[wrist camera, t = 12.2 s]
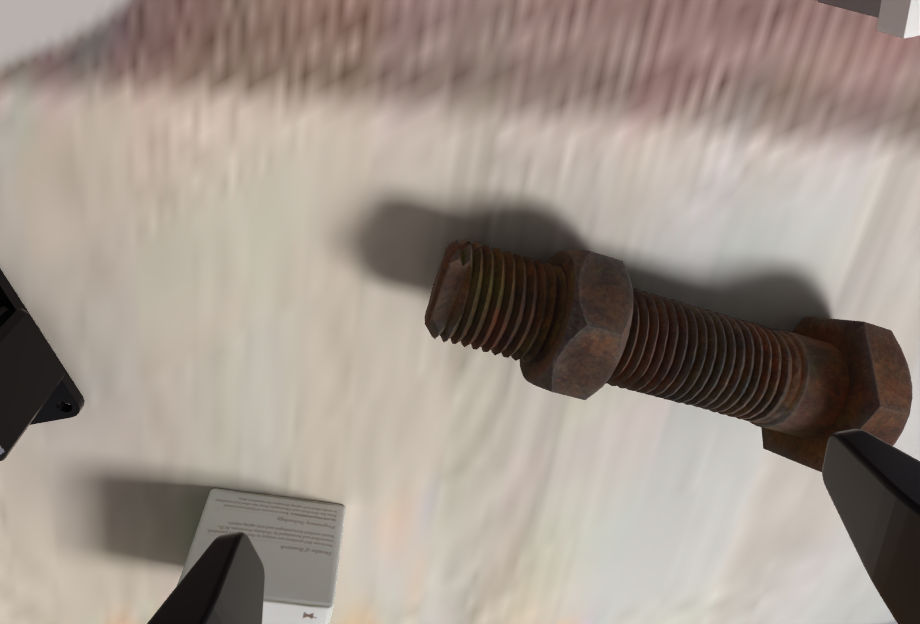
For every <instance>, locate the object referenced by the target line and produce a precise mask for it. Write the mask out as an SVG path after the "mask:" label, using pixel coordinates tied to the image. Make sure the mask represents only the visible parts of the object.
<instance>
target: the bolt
mask: <svg viewBox="0 0 920 624" xmlns="http://www.w3.org/2000/svg"><path fill="white" fill-rule="evenodd" d="M425 325H426V327H427V328H428V330H429V332H430V334H431V335H432V337H433V338H434V339H435V338H436V337H438V336H439V335H440V336H441V338H442V340H443V342H445V341H447V340H448V339H450V338H451V341H452V344H456V343H458V342H459V341H461V343H462V345H463V346H464V347H465V346H467V345H469V344H471V345H472V348H473V349H478V348H479V347H482V350H483V352H488V351H489V350H491V351H492V353H493V354H494V355H497V354H499V353H502V355H503V357H509V356H511V357H512V358H513V359H514V360H515V361H516V360H518V359H520V367H521V371H522V374H523V376H524V378H525V379H526V380H527V381H528V382H530V383H532V384H534V385H536V386H538V387H541V388H543V389H546V390H549V391H551V392H555V393H559V394H563V395H567V396H571V397H575V398H579V399H583V400H586V399H587V398H588V397H590V396H591V395H593V394H594V393H595V392H597V391H598V390H599V389H600V388H602V387H603V386H604V384H605V383H608V384H610V385H611V386H618V387H620V388H627V389H628V390H632V391H637V392H641V393H645V394H648V395H653V396H655V397H660V398H664V399H667V400H672V401H675V402H677V403H685V404H687V405H693V406H696V407H701V408H703V409H709V410H711V411H712V412H718V413H720V414H722V415H724V414H726V415H728V416H731V417H736V418H738V419H743V420H746V421H750V422H751V423H752V424H754V425H756V426H759V427H761V428H762V438H763V448H764V449H766V450H769V451H771V452H773V453H776V454H778V455H781V456H783V457H786V458H788V459H790V460H793V461H795V462H798V463H800V464H803V465H805V466H808V467H810V468H813V469H815V470H817V471H820V472H822V468H823V463H824V458H825V453H826V448H827V443H828V439H829V437H830V436H831V434H832V433H835V432H840V431H846V430H852V429H861V430H864V431H866V432H868V433H870V434H872V435H873V436H875V437H877V438H879V439H881V440H882V441H884V442H886V443H888V444H890V445H891V446H893V445H894V444H895V443H896V441H897V440H898V438H899V436H900V435H901V433H902V431H903V429H904V427H905V424H906V422H907V419H908V417H909V414H910V408H911V402H912V382H911V376H910V372H909V368H908V364H907V361H906V359H905V356H904V354H903V352H902V349H901V347H900V345H899V344H898V342H897V340H896V338H895V336H894V334H893V333H892V331H891V330H888V329H885V328H882V327H879V326H876V325H873V324H869V323H866V322H861V321H850V320H839V319H828V318H817V317H806V316H805V317H804V318H803V319H802V320H801V322H800V323H799V324H798V326H797V327H796V328H795V330H794V331H793V332H789V331H785V330H772V329H768V328H765V327H763V326H760V325H756V324H754V323H748V322H746V321H743V320H738V319H735V318H732V317H729V316H726V315H721V314H719V313H716V312H715V313H714V312H712V311H709V310H704V309H702V308H699V307H694V306H691V305H687V304H684V303H682V302H676V301H674V300H673V299H667V298H663V297H660V296H657V295H654V294H648V293H647V292H645V291H639V290H637V289H635V288H632V283H631V280H630V277H629V275H628V272H627V270H626V267H625V265H624V263H623V261H620V260H617V259H613V258H610V257H607V256H604V255H600V254H597V253H594V252H590V251H582V250H563V251H560V252H558V253H556V254H555V255H554V256H553V257H552V258H551V259H550V260H549V261H548V263H544V264H542V263H541V262H540V261H539V260H535V261H532V259H531V258H529V257H526V258H522V257H521V255H518V254H515V255H514V256H513V255H512V254H511V253H510V252H508V251H505V252H504V253H502V252H501V251H500V249H499V248H495V249H493V250H492V251H491V249H490V247H489V246H487V245H484V246H483V247H482V248H481V245H480V243H479V242H475V243H473V244H472V245H471V243H470V242H469V240H468V239H464V240H463V241H461V242H460V243H458V242H457V241H455V242H452V243H451V244H449V245H448V246H447V247H446V249H445V253H444V257H443V260H442V262H441V265H440V267H439V270H438V273H437V275H436V278H435V281H434V285H433V288H432V292H431V296H430V300H429V304H428V307H427V310H426V314H425Z"/></svg>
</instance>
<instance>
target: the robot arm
mask: <svg viewBox="0 0 920 624" xmlns="http://www.w3.org/2000/svg"><path fill="white" fill-rule="evenodd" d="M63 401H65V402H68V403H69V404H70V405H69V404H66V403H64V402H63ZM83 406H84V398H83V396H82V395H81V393H80V392H79V390H78V388H77V387H76V385H75V384H74V382H73V381H72V379H71V378H70V376H69V374H68V373H67V371H66V370H65V368H64V367H63V365H62V364H61V362H60V360H59V359H58V357H57V356H56V354H55V353H54V351H53V350H52V348H51V347H50V345H49V343H48V342H47V340H46V339H45V337H44V336H43V334H42V333H41V331H40V329H39V328H38V326H37V325H36V323H35V322H34V320H33V319H32V317H31V316H30V314H29V312H28V311H27V309H26V308H25V306H24V305H23V303H22V302H21V300H20V298H19V297H18V295H17V294H16V292H15V291H14V289H13V288H12V286H11V285H10V283H9V281H8V280H7V278H6V277H5V275H4V274H3V272H2V271H1V269H0V461H2V460H4V459H5V458H6V457H7V455H8V454H9V453H10V451H11V450H12V448H13V447H14V446H15V444H16V443H17V441H18V440H19V439H20V437H21V436H22V434H23V433H24V432H25V430H26V429H27V427H28V426H29V425H31V424H36V423H42V422H48V421H53V420H59V419H65V418H70V417H74V416H76V415H77V414H78V413H79V412H80V410H81V409H82V407H83ZM822 476H823V481H824V484H825V486H826V488H827V490H828V493H829V495H830V497H831V499H832V501H833V503H834V505H835V507H836V509H837V511H838V513H839V515H840V517H841V519H842V522H843V524H844V526H845V528H846V530H847V532H848V534H849V536H850V538H851V540H852V542H853V544H854V546H855V548H856V550H857V553H858V555H859V557H860V559H861V561H862V563H863V565H864V567H865V569H866V571H867V573H868V575H869V577H870V578H871V580H872V582H873V584H874V585H875V587H876V589H877V591H878V592H879V594H880V596H881V597H882V599H883V601H884V602H885V604H886V605H887V607H888V609H889V610H890V612H891V613H892V615H893V617H894V618H895V620H896V621H897V623H898V624H920V461H918V460H917V459H915V458H913V457H911V456H909V455H908V454H906V453H904V452H902V451H900V450H899V449H897V448H895V447H893V446H891V445H890V444H888V443H886V442H884V441H882V440H881V439H879V438H877V437H875V436H873V435H872V434H870V433H868V432H866V431H864V430H861V429H852V430H846V431H840V432H835V433H832V434H831V436H830V437H829V439H828V443H827V448H826V453H825V458H824V463H823V468H822ZM264 584H265V572H264V566H263V563H262V561H261V559H260V557H259V555H258V554H257V552H256V550H255V548H254V546H253V544H252V543H251V541H250V539H249V537H248V536H247V534H245V533H244V532H236V533H230V534H224V535H220V536H218V537H217V538H216V539H214V540H213V542H212V543H211V544H210V545H209V547H208V548H207V549H206V550H205V552H204V553H203V554H202V555H201V557H200V558H199V559H198V560H197V562H196V563H195V564H194V565H193V567H192V568H191V569H190V570H189V572H188V573H187V574H186V575H185V577H184V578H183V579H182V580H181V582H180V583H179V584H178V586H177V587H176V588H175V589H174V591H173V592H172V593H171V594H170V596H169V597H168V598H167V599H166V601H165V602H164V603H163V604H162V606H161V607H160V608H159V609H158V611H157V612H156V613H155V614H154V616H153V617H152V618H151V619H150V621H149V622H148V623H147V624H262V616H263V600H264Z"/></svg>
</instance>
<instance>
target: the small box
mask: <svg viewBox="0 0 920 624" xmlns="http://www.w3.org/2000/svg"><path fill="white" fill-rule="evenodd" d="M345 513H346V507H345V506H344V505H339V504H333V503H326V502H318V501H311V500H304V499H296V498H289V497H281V496H273V495H265V494H258V493H250V492H242V491H234V490H227V489H219V488H214V489H212V490H210V493H209V495H208V498H207V501H206V504H205V507H204V510H203V513H202V516H201V519H200V522H199V524H198V527H197V530H196V533H195V536H194V539H193V542H192V545H191V548H190V551H189V554H188V557H187V560H186V563H185V565H184V568H183V571H182V574H181V577H180V579H179V582H178V584H179V583H180V582H181V580H182V579H183V578H184V577H185V575H186V574H187V573H188V572H189V570H190V569H191V568H192V567H193V565H194V564H195V563H196V562H197V560H198V559H199V558H200V557H201V555H202V554H203V553H204V552H205V550H206V549H207V548H208V547H209V545H210V544H211V543H212V542H213V540H214V539H216V538H217V537H218V536H220V535H224V534H230V533H236V532H244V533H245V534H247V536H248V537H249V539H250V541H251V543H252V544H253V546H254V548H255V550H256V552H257V554H258V555H259V557H260V559H261V561H262V563H263V566H264V572H265V584H264V600H263V616H262V624H329V623H330V619H331V615H332V610H333V606H334V600H335V593H336V585H337V577H338V569H339V560H340V552H341V544H342V536H343V528H344V520H345ZM177 586H178V585H177Z"/></svg>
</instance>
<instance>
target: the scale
mask: <svg viewBox="0 0 920 624" xmlns="http://www.w3.org/2000/svg"><path fill="white" fill-rule="evenodd" d="M818 2H820V3H824V4H828V5H832V6H836V7H839V8H843V9H847V10H851V11H855V12H859V13H862V14H866V15H870V16H874V17H878V24H877V29H876V31H880V32H883V33H887V34H890V35H894V36H897V37H900V38H908V37H914V36H919V35H920V0H818Z"/></svg>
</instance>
